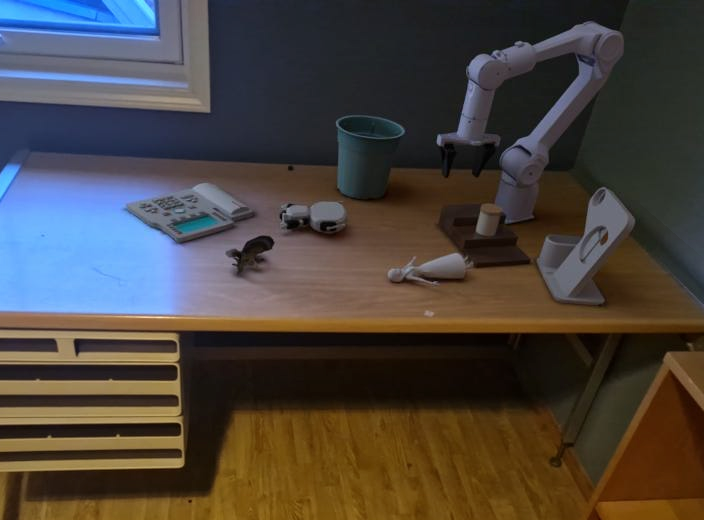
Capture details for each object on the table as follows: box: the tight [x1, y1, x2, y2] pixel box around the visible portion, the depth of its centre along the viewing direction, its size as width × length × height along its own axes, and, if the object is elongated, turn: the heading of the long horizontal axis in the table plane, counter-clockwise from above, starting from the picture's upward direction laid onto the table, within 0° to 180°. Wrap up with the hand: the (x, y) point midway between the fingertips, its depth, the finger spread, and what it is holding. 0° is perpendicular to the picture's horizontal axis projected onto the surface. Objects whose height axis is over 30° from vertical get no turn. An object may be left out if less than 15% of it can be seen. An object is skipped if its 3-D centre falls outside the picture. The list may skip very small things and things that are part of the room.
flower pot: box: [335, 114, 406, 200], centre depth 161 cm, size 16×16×16 cm
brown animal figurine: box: [225, 234, 276, 276], centre depth 130 cm, size 8×7×9 cm
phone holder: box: [535, 186, 636, 306], centre depth 132 cm, size 17×10×18 cm, turn 178°
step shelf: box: [437, 202, 532, 268], centre depth 146 cm, size 20×13×5 cm, turn 15°
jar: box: [476, 202, 503, 236], centre depth 144 cm, size 5×5×6 cm
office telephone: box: [125, 182, 254, 243], centre depth 147 cm, size 23×3×20 cm
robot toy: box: [278, 200, 348, 235], centre depth 147 cm, size 12×4×15 cm
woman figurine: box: [387, 252, 474, 287], centre depth 133 cm, size 12×4×18 cm
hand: (459, 176), depth 151 cm, fingers open, 7 cm apart
